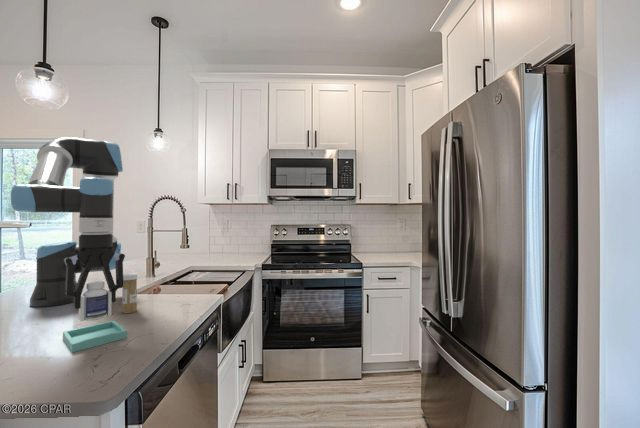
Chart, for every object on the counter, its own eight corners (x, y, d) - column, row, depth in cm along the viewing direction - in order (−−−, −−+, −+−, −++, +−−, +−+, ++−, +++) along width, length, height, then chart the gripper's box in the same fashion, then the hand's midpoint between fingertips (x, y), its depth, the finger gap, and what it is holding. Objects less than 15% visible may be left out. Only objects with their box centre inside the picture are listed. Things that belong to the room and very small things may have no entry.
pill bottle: (111, 315, 84) (112, 281, 84) (91, 322, 79) (92, 285, 79) (98, 313, 86) (98, 280, 86) (78, 319, 81) (78, 284, 81)
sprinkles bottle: (137, 312, 105) (137, 274, 105) (121, 314, 102) (122, 275, 102) (136, 308, 109) (137, 272, 109) (121, 310, 106) (122, 273, 106)
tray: (62, 339, 82) (62, 331, 82) (113, 326, 91) (114, 320, 91) (71, 352, 74) (71, 344, 74) (126, 337, 83) (126, 330, 83)
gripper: (54, 235, 73) (53, 329, 73) (137, 232, 87) (137, 311, 87) (49, 234, 78) (48, 322, 78) (129, 231, 92) (128, 306, 92)
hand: (95, 316), depth 82 cm, fingers closed on pill bottle, 5 cm apart
